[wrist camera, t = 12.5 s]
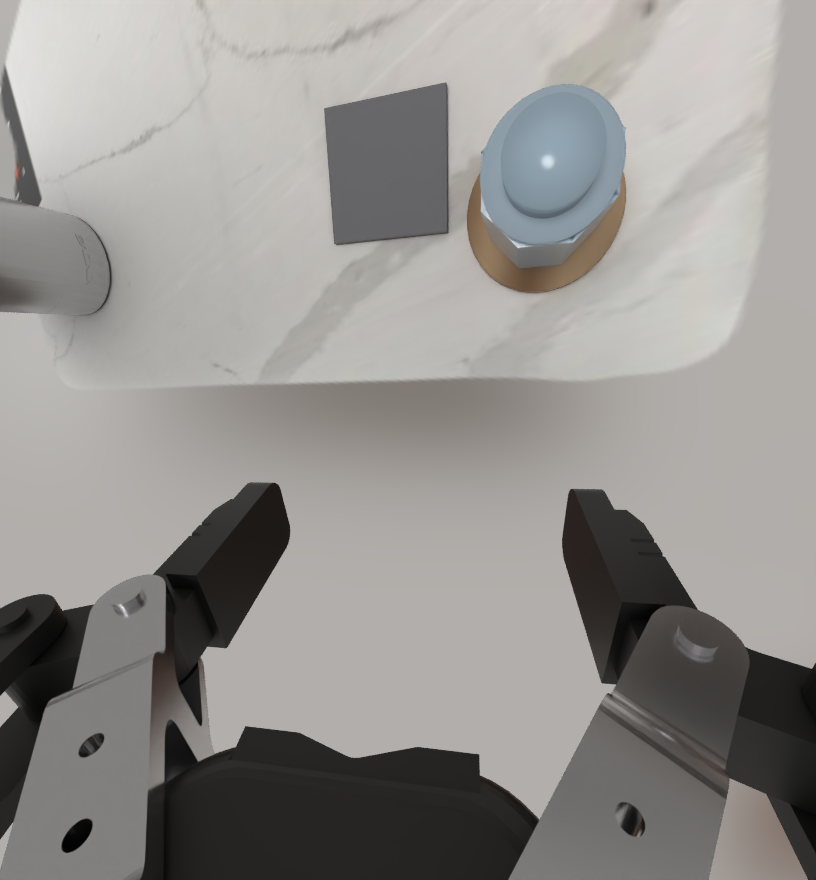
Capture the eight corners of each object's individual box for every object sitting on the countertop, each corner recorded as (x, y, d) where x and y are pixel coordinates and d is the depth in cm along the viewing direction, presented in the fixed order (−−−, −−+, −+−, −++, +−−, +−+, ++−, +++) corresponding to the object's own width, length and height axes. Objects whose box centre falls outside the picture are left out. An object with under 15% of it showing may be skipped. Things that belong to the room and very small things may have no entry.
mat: (336, 244, 31) (334, 243, 31) (326, 111, 29) (324, 108, 28) (447, 232, 29) (446, 231, 28) (447, 86, 26) (446, 82, 26)
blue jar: (490, 271, 28) (475, 242, 19) (492, 164, 26) (476, 78, 17) (592, 262, 26) (627, 226, 17) (601, 147, 24) (645, 41, 15)
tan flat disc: (467, 296, 29) (466, 295, 29) (469, 142, 27) (467, 137, 26) (614, 287, 27) (617, 286, 26) (631, 115, 24) (635, 108, 23)
